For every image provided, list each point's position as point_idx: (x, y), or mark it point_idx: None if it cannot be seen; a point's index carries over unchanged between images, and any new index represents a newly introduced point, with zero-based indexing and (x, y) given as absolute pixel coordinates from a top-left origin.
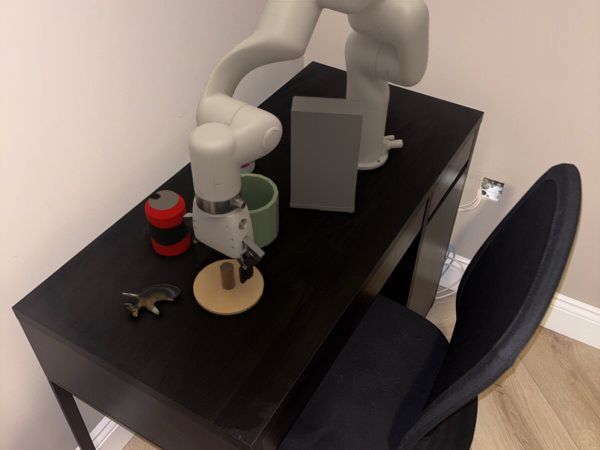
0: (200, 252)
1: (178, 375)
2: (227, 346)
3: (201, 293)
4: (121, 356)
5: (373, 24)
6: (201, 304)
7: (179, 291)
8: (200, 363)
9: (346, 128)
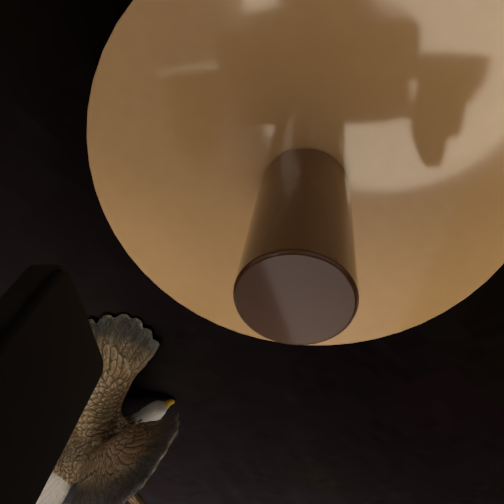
0: (59, 453)
1: (394, 495)
2: (494, 392)
3: (226, 302)
4: (211, 501)
5: None
6: (274, 341)
7: (176, 435)
8: (434, 458)
9: None
